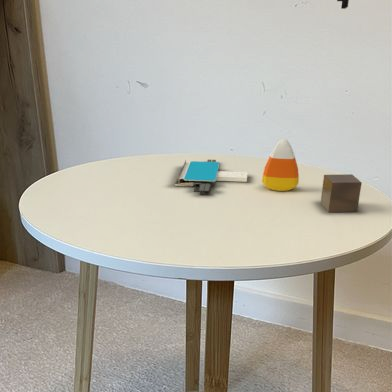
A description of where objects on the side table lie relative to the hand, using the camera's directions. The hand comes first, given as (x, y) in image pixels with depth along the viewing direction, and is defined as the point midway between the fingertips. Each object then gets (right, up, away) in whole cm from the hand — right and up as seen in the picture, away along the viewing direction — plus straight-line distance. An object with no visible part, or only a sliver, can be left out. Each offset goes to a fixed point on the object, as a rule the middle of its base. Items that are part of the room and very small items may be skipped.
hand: (382, 9), depth 78 cm
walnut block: (-3, -23, +13) cm, 26 cm away
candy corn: (-10, -18, +21) cm, 30 cm away
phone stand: (-21, -15, +26) cm, 37 cm away
